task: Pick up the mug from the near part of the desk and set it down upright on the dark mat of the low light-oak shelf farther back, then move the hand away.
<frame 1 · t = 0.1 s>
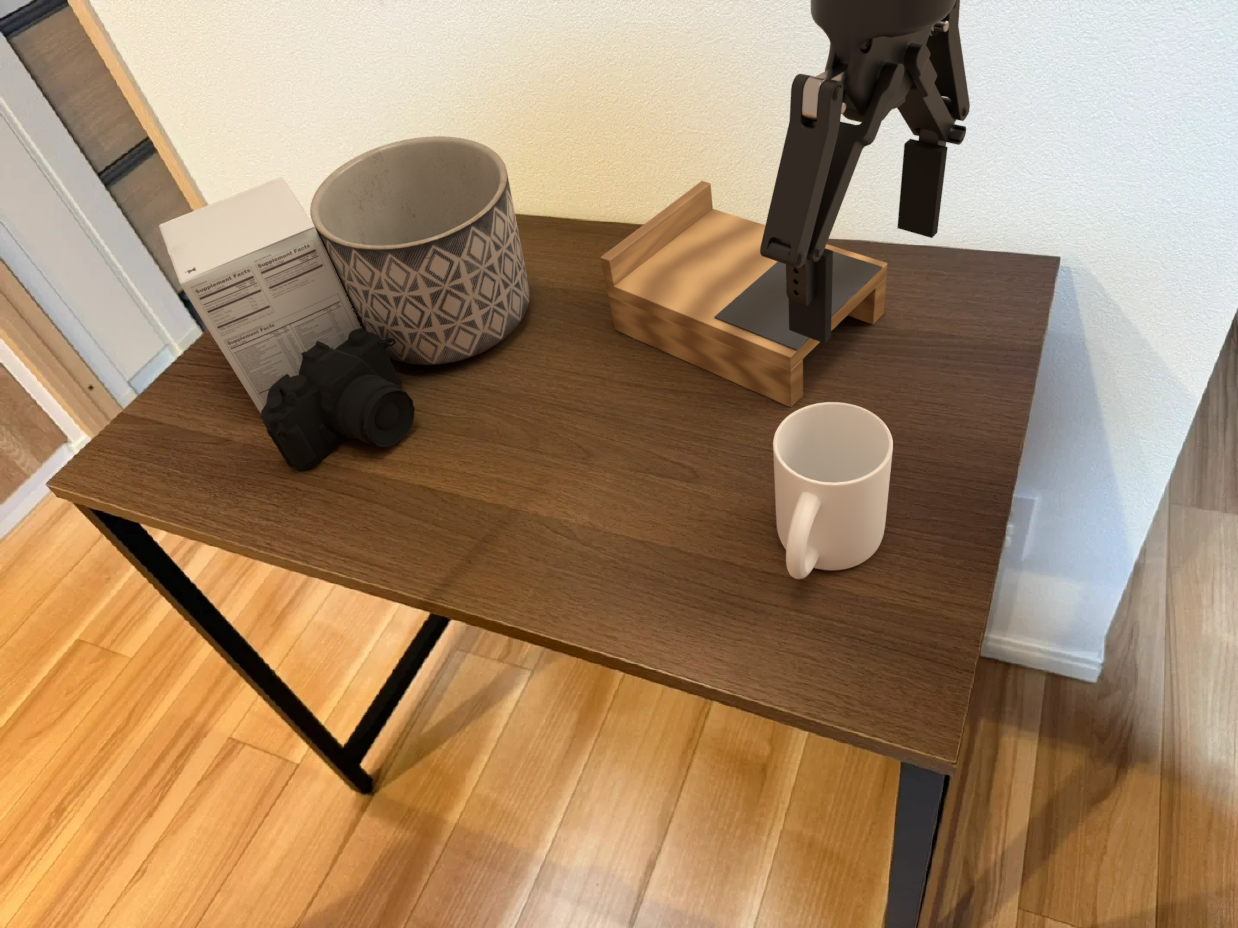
hand: (866, 280, 60), 19 cm above the table, tool pointing down, fingers open, 13 cm apart
shelf: (745, 322, 89), on the table
supplement box: (309, 365, 96), on the table
mug: (820, 550, 68), on the table
planter: (451, 320, 97), on the table
film camera: (367, 432, 87), on the table
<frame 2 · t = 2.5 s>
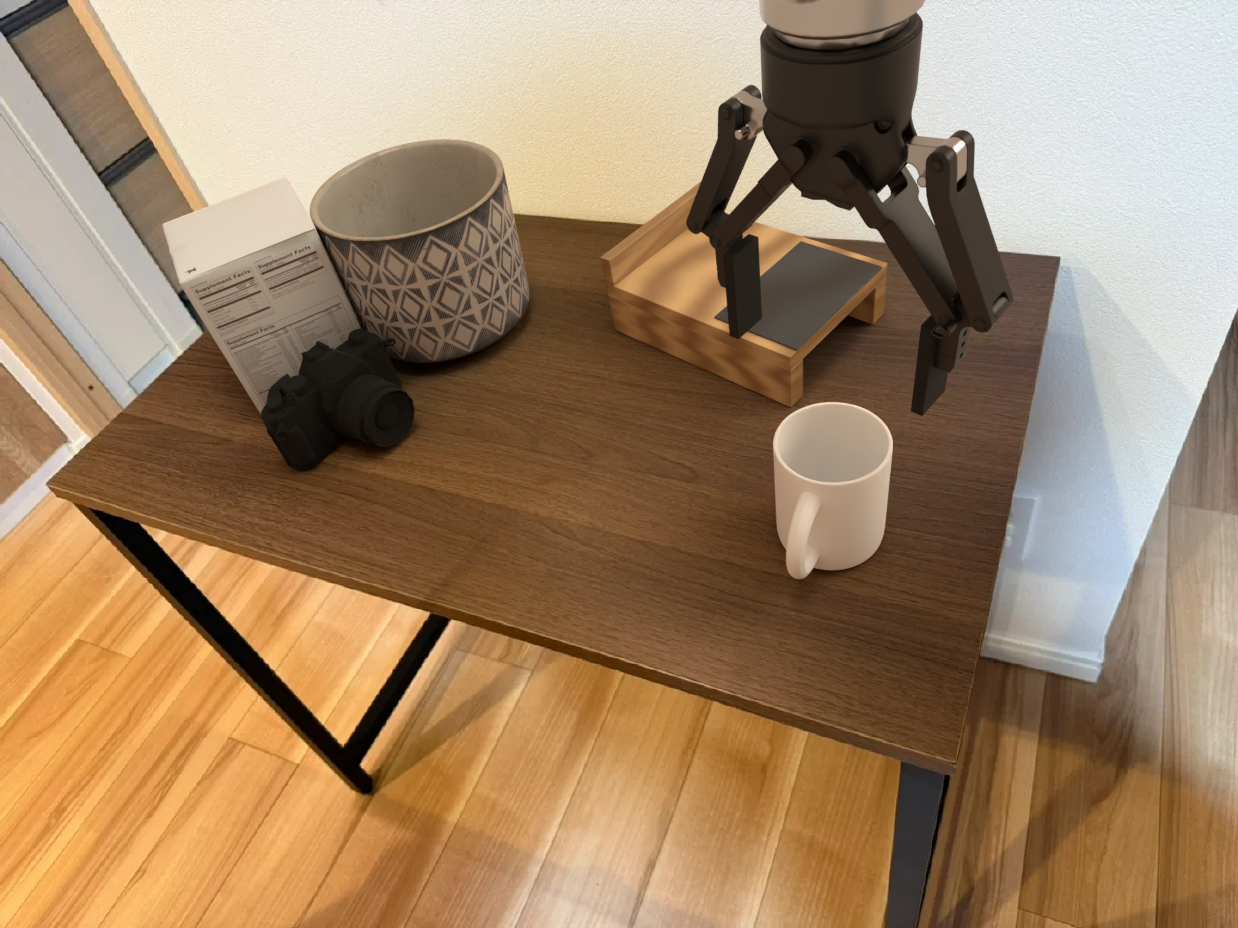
hand: (830, 362, 56), 18 cm above the table, tool pointing down, fingers open, 13 cm apart
supplement box: (311, 365, 96), on the table, touching planter
planter: (452, 322, 97), on the table, touching supplement box
everything else where it was.
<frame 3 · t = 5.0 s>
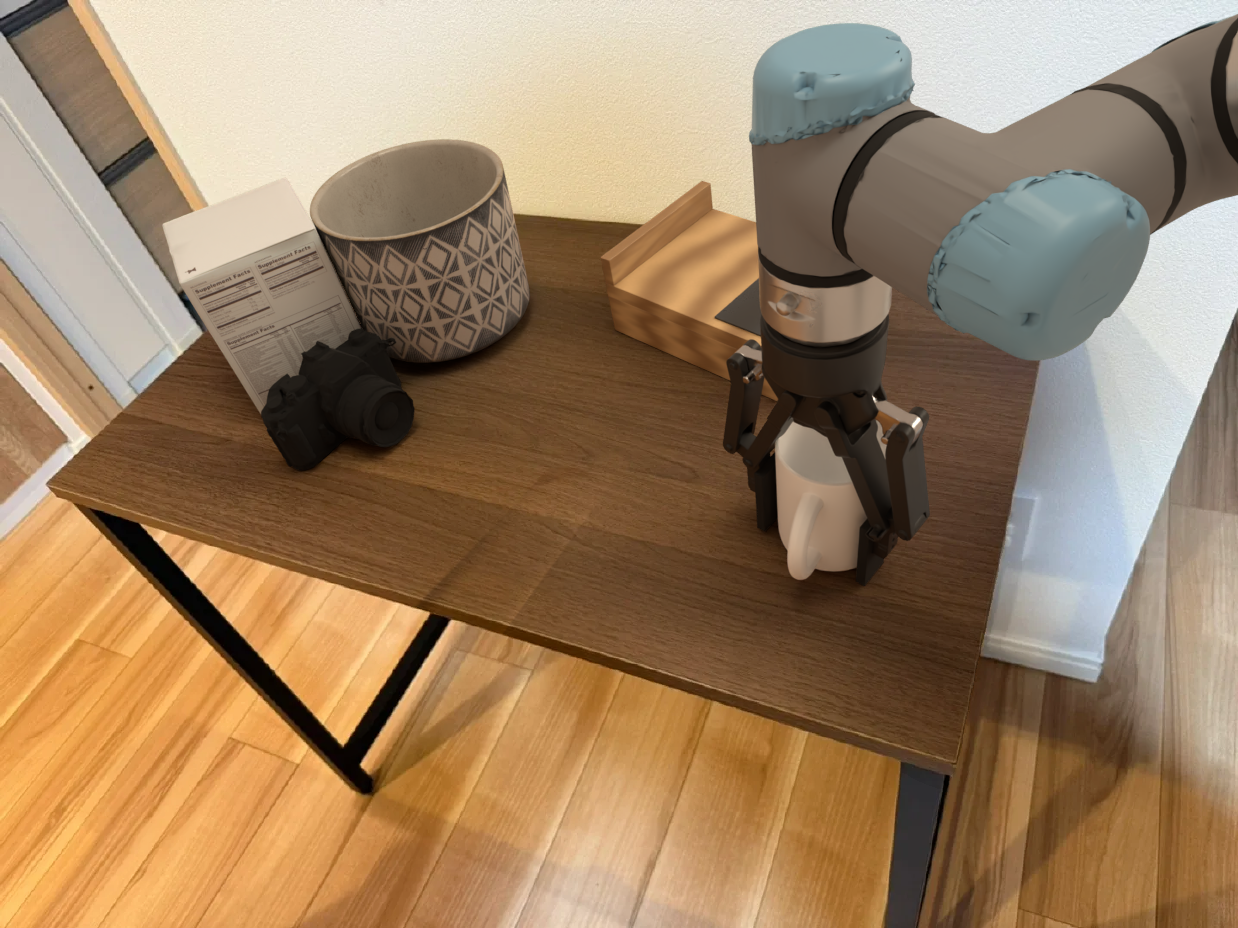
hand: (818, 544, 68), 0 cm above the table, tool pointing down, fingers closed on mug, 8 cm apart
mug: (822, 551, 68), on the table, touching gripper
everything else where it was.
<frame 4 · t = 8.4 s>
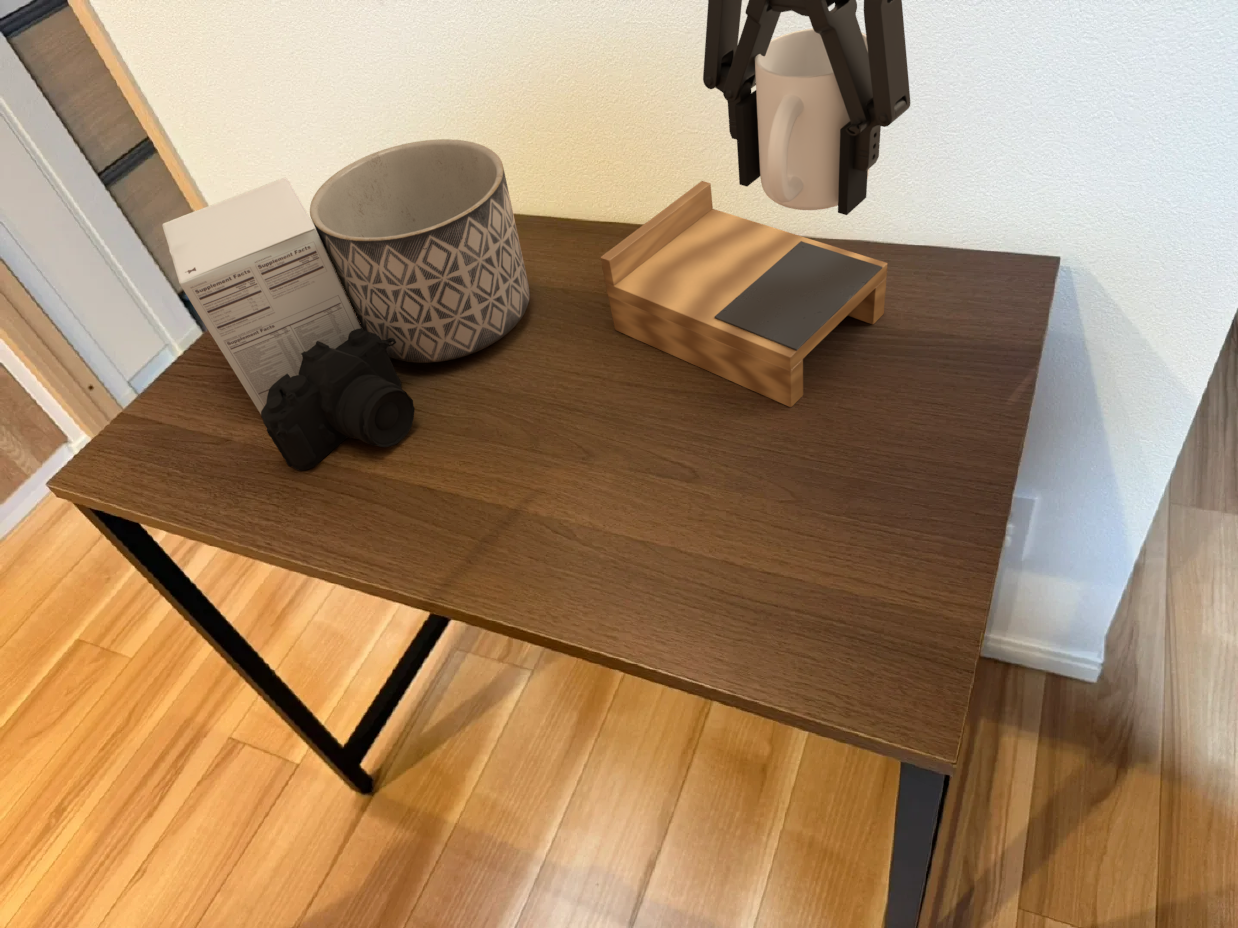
hand: (800, 190, 67), 20 cm above the table, tool pointing down, fingers closed on mug, 8 cm apart
mug: (805, 199, 68), point 19 cm above the table, touching gripper
everything else where it was.
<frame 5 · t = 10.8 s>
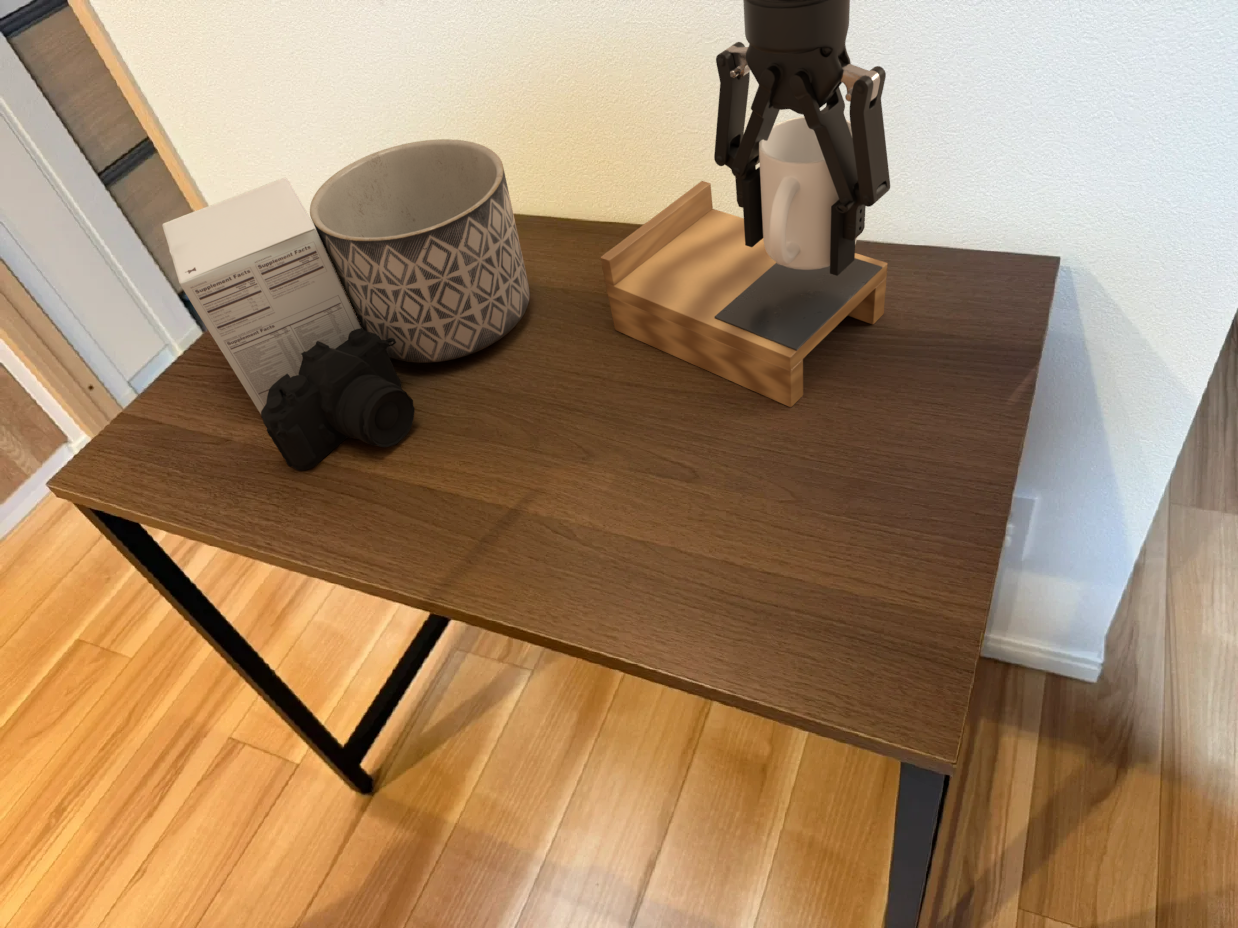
hand: (798, 252, 78), 10 cm above the table, tool pointing down, fingers closed on mug, 8 cm apart
mug: (802, 259, 78), point 10 cm above the table, touching gripper
everything else where it was.
when the fingers open (7 cm above the table, at t = 12.2 s): mug stays where it is, resting on shelf.
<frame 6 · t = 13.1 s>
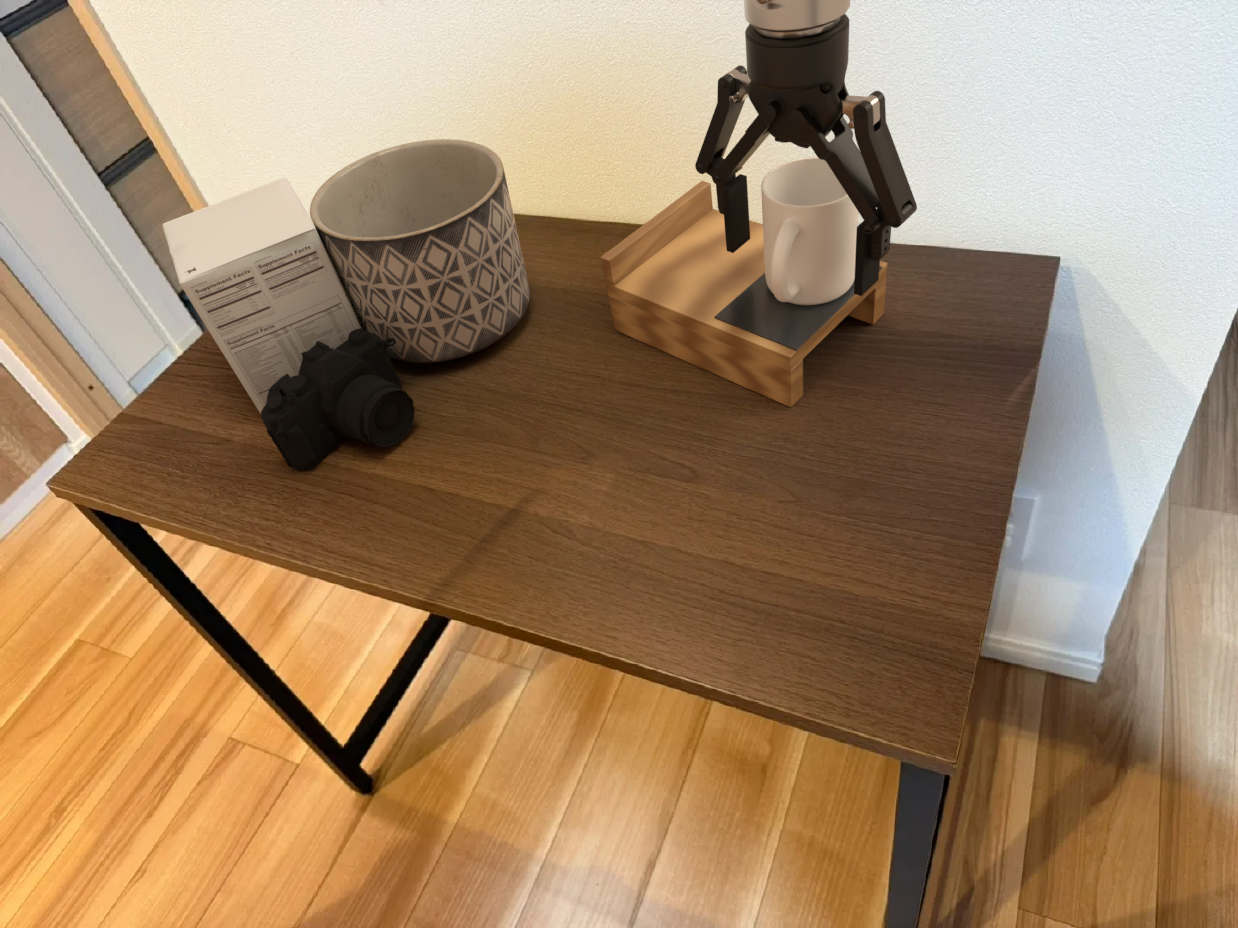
hand: (799, 265, 79), 9 cm above the table, tool pointing down, fingers open, 13 cm apart
mug: (802, 294, 81), point 6 cm above the table, touching shelf
everything else where it was.
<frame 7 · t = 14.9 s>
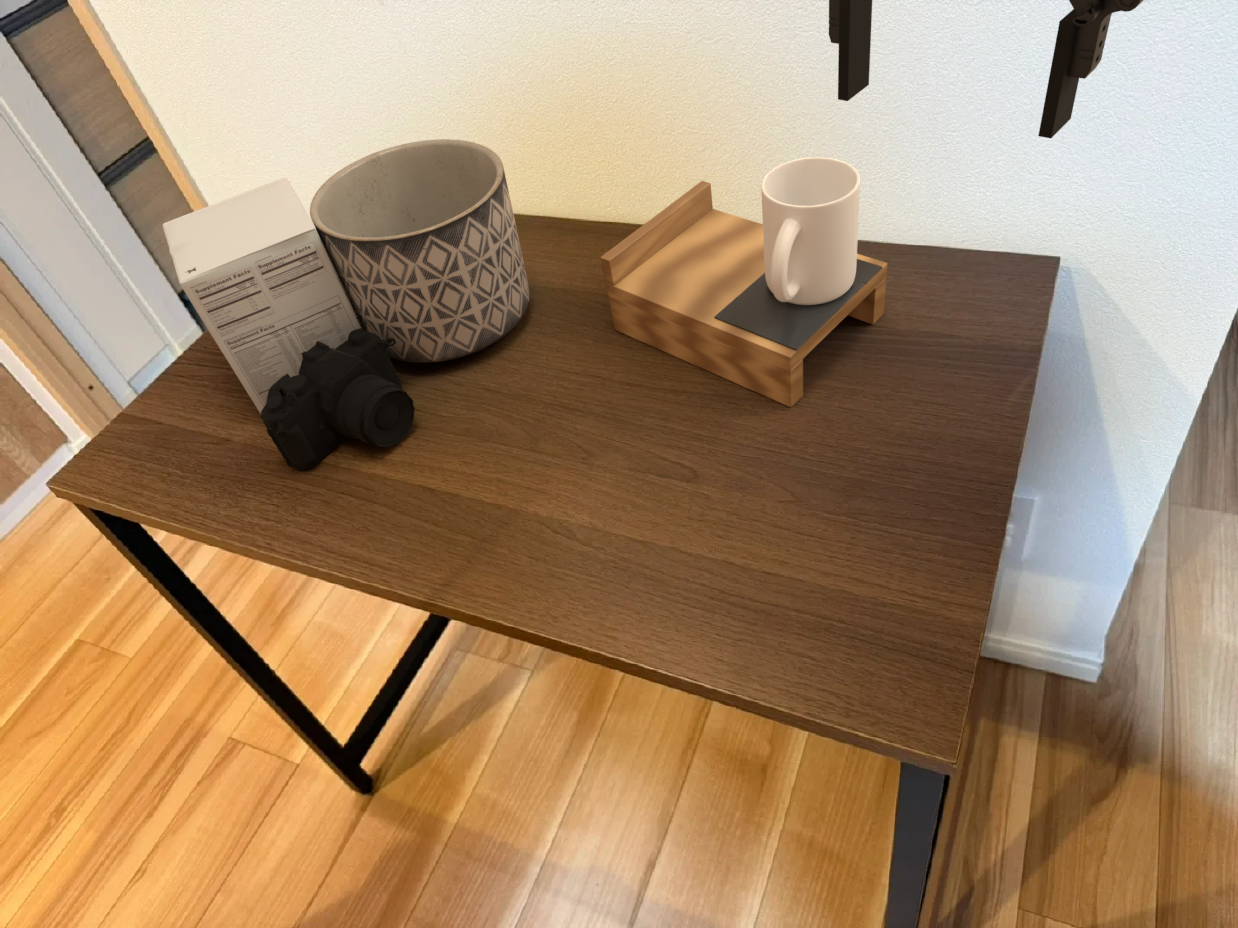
hand: (947, 109, 56), 28 cm above the table, tool pointing down, fingers open, 13 cm apart
nothing on the table moved.
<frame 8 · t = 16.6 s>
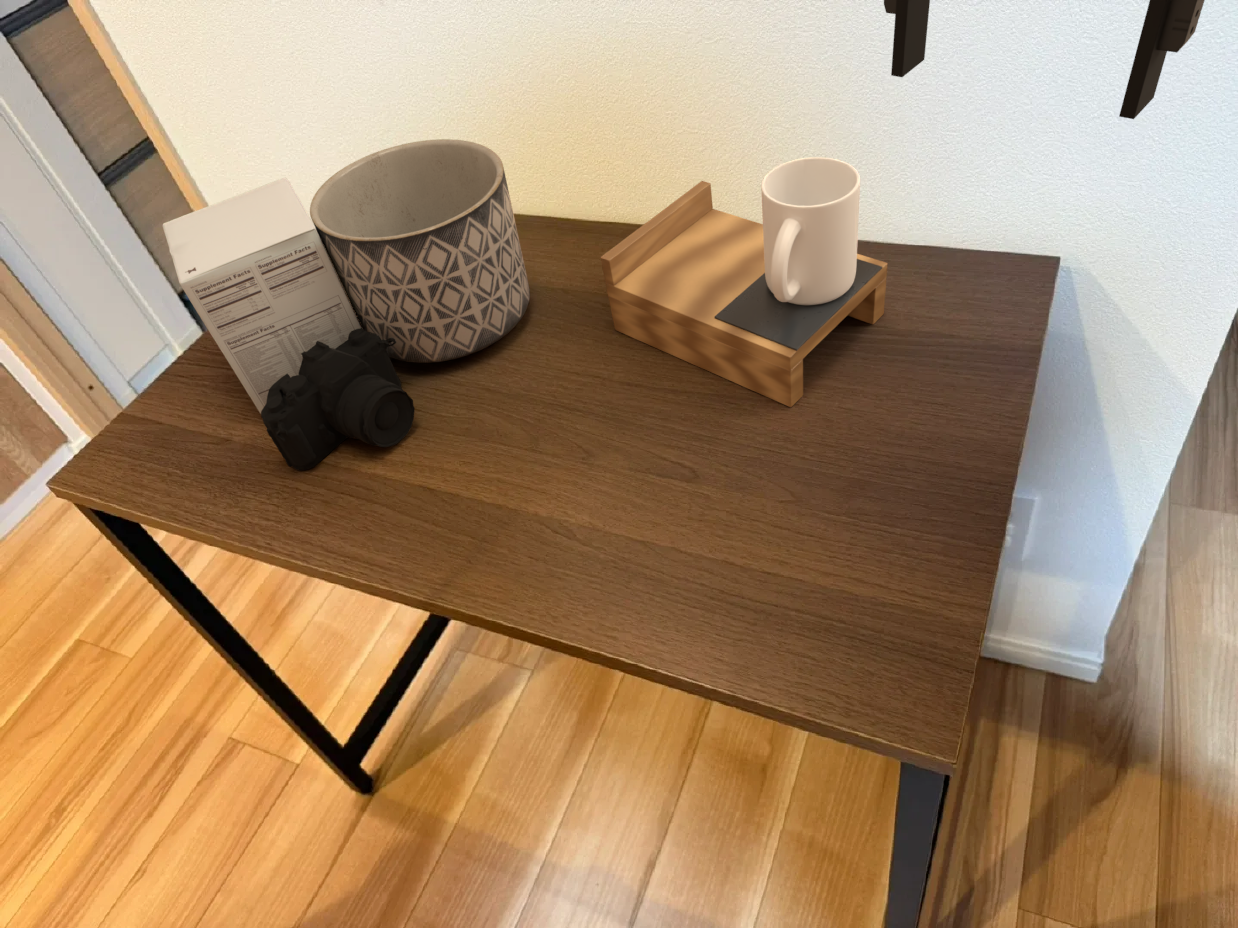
hand: (1013, 86, 51), 31 cm above the table, tool pointing down, fingers open, 13 cm apart
nothing on the table moved.
at the end: mug inside the target area on the shelf (0.4 cm from its centre), point 6.0 cm above the shelf's base; mug tilted 0°; the gripper is holding nothing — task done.
